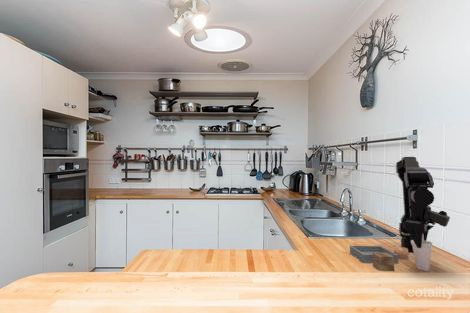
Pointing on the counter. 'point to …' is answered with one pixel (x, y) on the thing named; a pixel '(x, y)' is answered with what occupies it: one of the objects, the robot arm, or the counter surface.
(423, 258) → the smoothie
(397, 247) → the brown short cylinder
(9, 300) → the counter surface
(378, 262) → the walnut block
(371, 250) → the tray
